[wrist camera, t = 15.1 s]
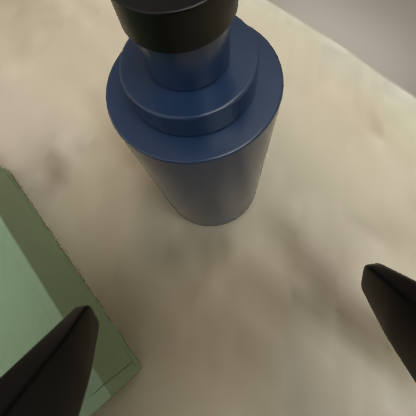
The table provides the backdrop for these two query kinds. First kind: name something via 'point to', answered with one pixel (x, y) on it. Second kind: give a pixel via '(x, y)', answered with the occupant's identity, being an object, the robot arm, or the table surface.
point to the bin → (49, 297)
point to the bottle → (195, 102)
